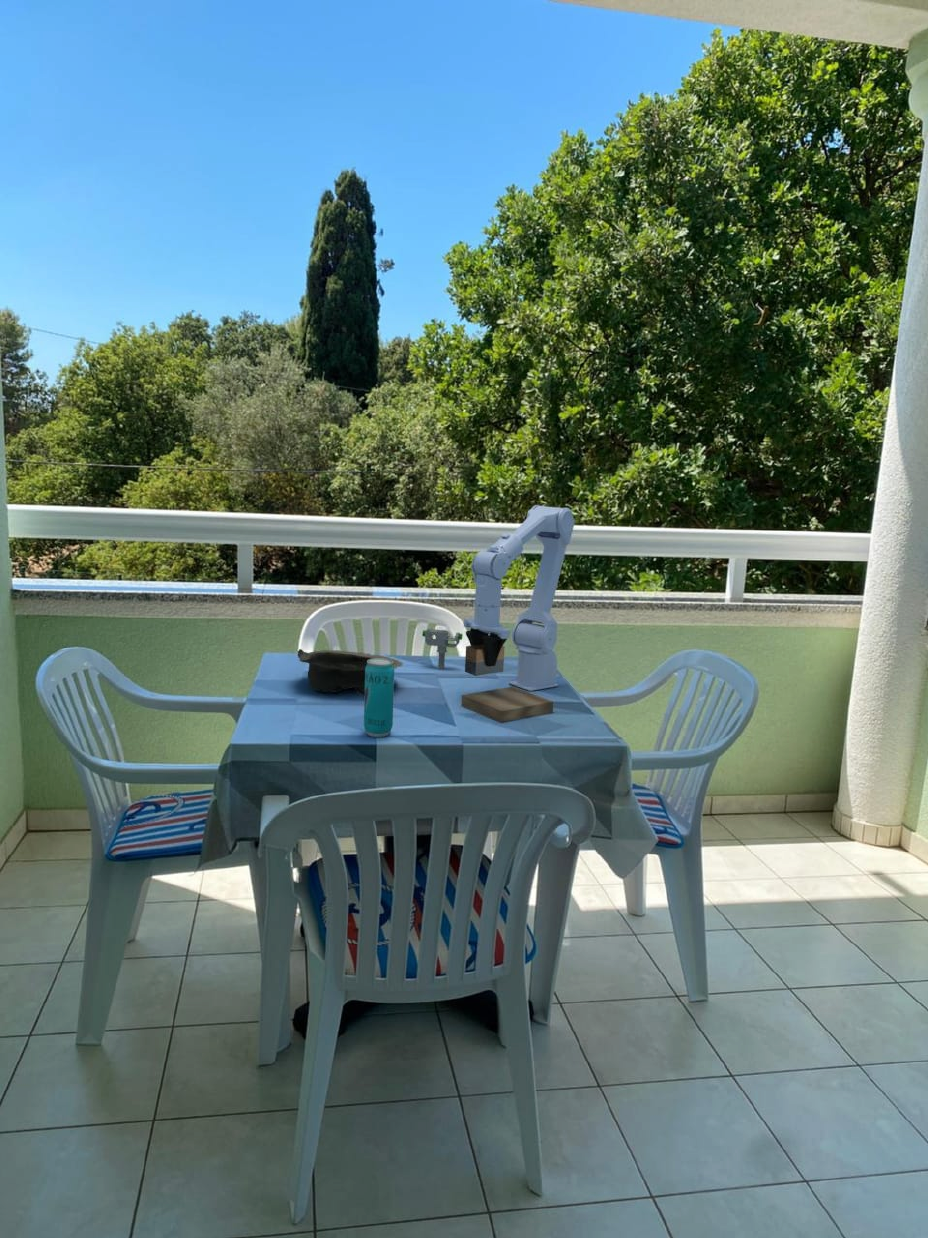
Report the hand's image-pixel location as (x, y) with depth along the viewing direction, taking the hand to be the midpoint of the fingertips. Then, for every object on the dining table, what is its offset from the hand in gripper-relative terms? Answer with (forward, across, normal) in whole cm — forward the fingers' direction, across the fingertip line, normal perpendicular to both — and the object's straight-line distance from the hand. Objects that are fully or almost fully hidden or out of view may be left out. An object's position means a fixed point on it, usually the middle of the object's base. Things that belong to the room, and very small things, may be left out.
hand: (484, 663), depth 207 cm
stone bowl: (+9, -25, -20) cm, 34 cm away
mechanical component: (+9, -29, +9) cm, 31 cm away
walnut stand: (+9, +8, +1) cm, 12 cm away
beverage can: (+9, +8, -33) cm, 35 cm away
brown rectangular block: (+2, 0, 0) cm, 2 cm away
